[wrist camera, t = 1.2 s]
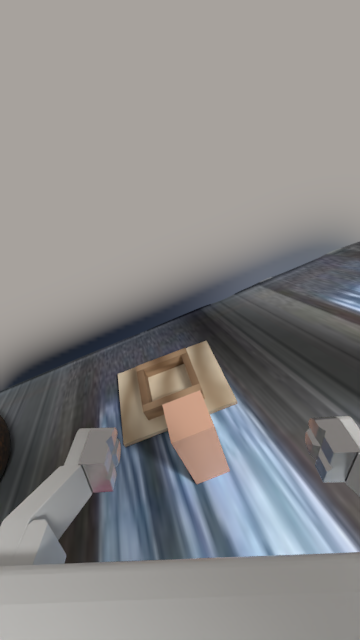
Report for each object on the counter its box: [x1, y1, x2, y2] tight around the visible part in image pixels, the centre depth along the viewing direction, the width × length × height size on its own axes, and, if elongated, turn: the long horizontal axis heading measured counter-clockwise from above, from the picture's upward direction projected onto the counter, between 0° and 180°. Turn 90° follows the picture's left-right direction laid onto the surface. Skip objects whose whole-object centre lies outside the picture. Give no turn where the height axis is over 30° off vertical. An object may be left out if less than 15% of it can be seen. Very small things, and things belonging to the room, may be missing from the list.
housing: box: [118, 341, 237, 447], centre depth 44 cm, size 18×14×3 cm
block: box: [162, 390, 230, 484], centre depth 31 cm, size 4×4×12 cm
